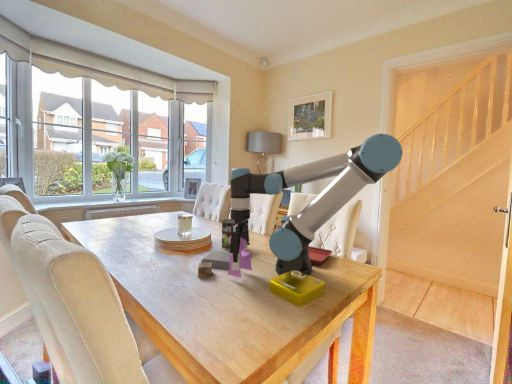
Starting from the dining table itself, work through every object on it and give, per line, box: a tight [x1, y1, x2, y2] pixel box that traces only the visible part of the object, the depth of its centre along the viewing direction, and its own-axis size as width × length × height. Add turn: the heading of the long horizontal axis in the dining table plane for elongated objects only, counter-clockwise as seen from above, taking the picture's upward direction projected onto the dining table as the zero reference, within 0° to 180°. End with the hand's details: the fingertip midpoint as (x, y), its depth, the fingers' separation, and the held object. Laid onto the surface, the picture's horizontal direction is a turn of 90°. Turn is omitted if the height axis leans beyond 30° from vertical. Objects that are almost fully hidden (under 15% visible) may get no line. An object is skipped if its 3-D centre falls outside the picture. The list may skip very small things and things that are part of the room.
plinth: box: [200, 249, 231, 270], centre depth 119 cm, size 13×13×3 cm
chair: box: [227, 237, 253, 278], centre depth 104 cm, size 8×9×15 cm
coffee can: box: [221, 218, 235, 251], centre depth 139 cm, size 10×10×14 cm
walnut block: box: [197, 262, 213, 278], centre depth 106 cm, size 5×5×4 cm
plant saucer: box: [309, 245, 333, 267], centre depth 128 cm, size 18×18×3 cm
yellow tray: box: [268, 270, 326, 307], centre depth 94 cm, size 15×15×5 cm
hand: (240, 265), depth 105 cm, fingers closed on chair, 9 cm apart
